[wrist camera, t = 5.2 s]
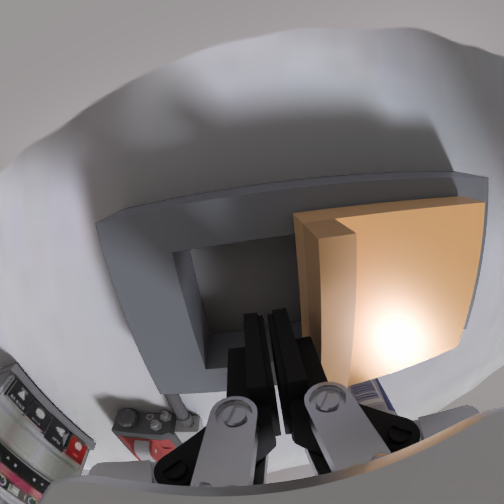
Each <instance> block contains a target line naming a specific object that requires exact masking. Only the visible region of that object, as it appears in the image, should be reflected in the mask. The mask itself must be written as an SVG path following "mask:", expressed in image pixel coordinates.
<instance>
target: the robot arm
mask: <svg viewBox="0 0 504 504" xmlns="http://www.w3.org/2000/svg"><path fill="white" fill-rule="evenodd" d="M267 316H268V324H269V331H270V339H271V346H272V354H273V361H274V368H275V374H276V380H277V386H278V392H279V398H280V403H281V409H282V415H283V421H284V427H285V433H286V434H292V439H293V441H294V442H295V443H296V444H298V445H300V446H302V447H304V448H305V452H306V455H307V457H308V459H309V462H310V464H311V466H312V468H313V471H314V473H315V475H316V476H313V477H308V478H303V479H297V480H291V481H285V482H278V483H269V484H266V477H267V466H268V453H269V452H270V451H271V450H272V449H273V448H274V447H275V446H276V438H275V436H278V435H281V431H280V424H279V416H278V409H277V402H276V395H275V388H274V381H273V374H272V368H271V362H270V356H269V349H268V343H267V337H266V331H265V324H264V318H263V315H260V316H258V314H257V312H256V313H249V314H244V337H245V346H244V347H236V348H229V349H228V366H227V398H224V399H222V400H220V401H219V402H217V403H216V404H215V405H214V406H213V408H212V410H211V412H210V415H209V419H208V422H207V426H206V427H204V428H203V429H202V430H200V431H199V432H198V433H196V434H195V435H194V436H192V437H191V438H189V439H188V440H187V441H185V442H184V443H182V444H181V445H180V446H178V447H177V448H175V449H174V450H172V451H171V452H169V453H168V454H166V455H165V456H163V457H162V458H161V459H160V460H159V461H158V462H151V461H150V460H143V461H130V462H103V463H98V464H96V465H95V466H93V467H92V468H91V470H90V472H89V475H86V476H85V475H84V476H71V477H65V478H61V479H58V480H56V481H54V482H52V483H51V484H50V485H49V486H48V487H47V489H46V490H45V492H44V493H43V495H42V497H41V499H40V501H39V504H504V407H500V408H495V409H491V410H487V411H484V412H481V413H479V411H478V410H477V409H476V408H474V407H473V406H468V405H466V406H461V407H457V408H454V409H450V410H447V411H443V412H439V413H435V414H431V415H427V416H422V417H419V418H418V420H415V421H412V420H409V419H407V418H404V417H400V416H397V415H393V414H390V413H387V412H384V411H381V410H377V409H374V408H371V407H368V406H365V405H362V404H359V403H357V401H356V400H355V398H354V397H353V395H352V394H351V392H350V391H349V390H348V389H347V388H346V387H345V386H344V385H342V384H340V383H336V382H328V380H327V378H326V375H325V372H324V370H323V367H322V364H321V362H320V359H319V356H318V354H317V351H316V349H315V346H314V343H313V341H312V339H311V337H310V336H307V337H302V338H297V339H295V336H294V333H293V330H292V326H291V323H290V320H289V317H288V314H287V310H286V308H282V309H276V310H272V314H267Z"/></svg>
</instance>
